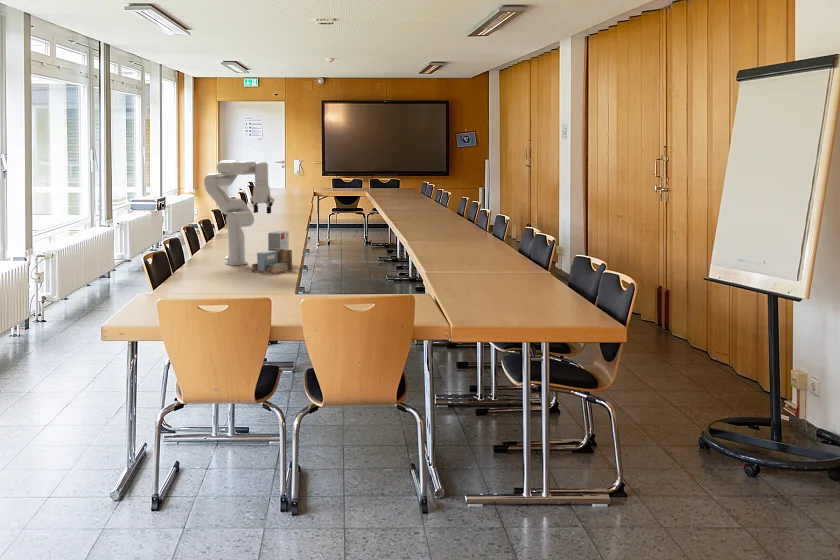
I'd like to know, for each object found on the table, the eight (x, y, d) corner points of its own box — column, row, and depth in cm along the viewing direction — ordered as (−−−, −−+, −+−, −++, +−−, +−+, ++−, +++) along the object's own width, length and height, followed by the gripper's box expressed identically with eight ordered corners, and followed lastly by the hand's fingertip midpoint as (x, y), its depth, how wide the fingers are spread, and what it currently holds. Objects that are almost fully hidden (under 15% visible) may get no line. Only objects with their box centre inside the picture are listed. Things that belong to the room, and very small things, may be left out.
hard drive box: (280, 267, 520) (279, 233, 516) (268, 266, 521) (267, 233, 518) (289, 263, 535) (288, 230, 531) (277, 262, 536) (276, 230, 533)
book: (257, 270, 499) (257, 252, 498) (270, 267, 510) (270, 250, 508) (264, 270, 497) (264, 253, 495) (277, 268, 507) (277, 251, 506)
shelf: (252, 271, 500) (251, 251, 498) (270, 268, 513) (270, 248, 511) (274, 274, 492) (274, 253, 490) (292, 270, 506) (291, 249, 504)
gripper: (245, 183, 509) (246, 212, 512) (269, 184, 500) (269, 214, 503) (254, 182, 515) (255, 211, 518) (277, 183, 507) (278, 213, 510)
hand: (262, 213), depth 511 cm, fingers open, 9 cm apart
